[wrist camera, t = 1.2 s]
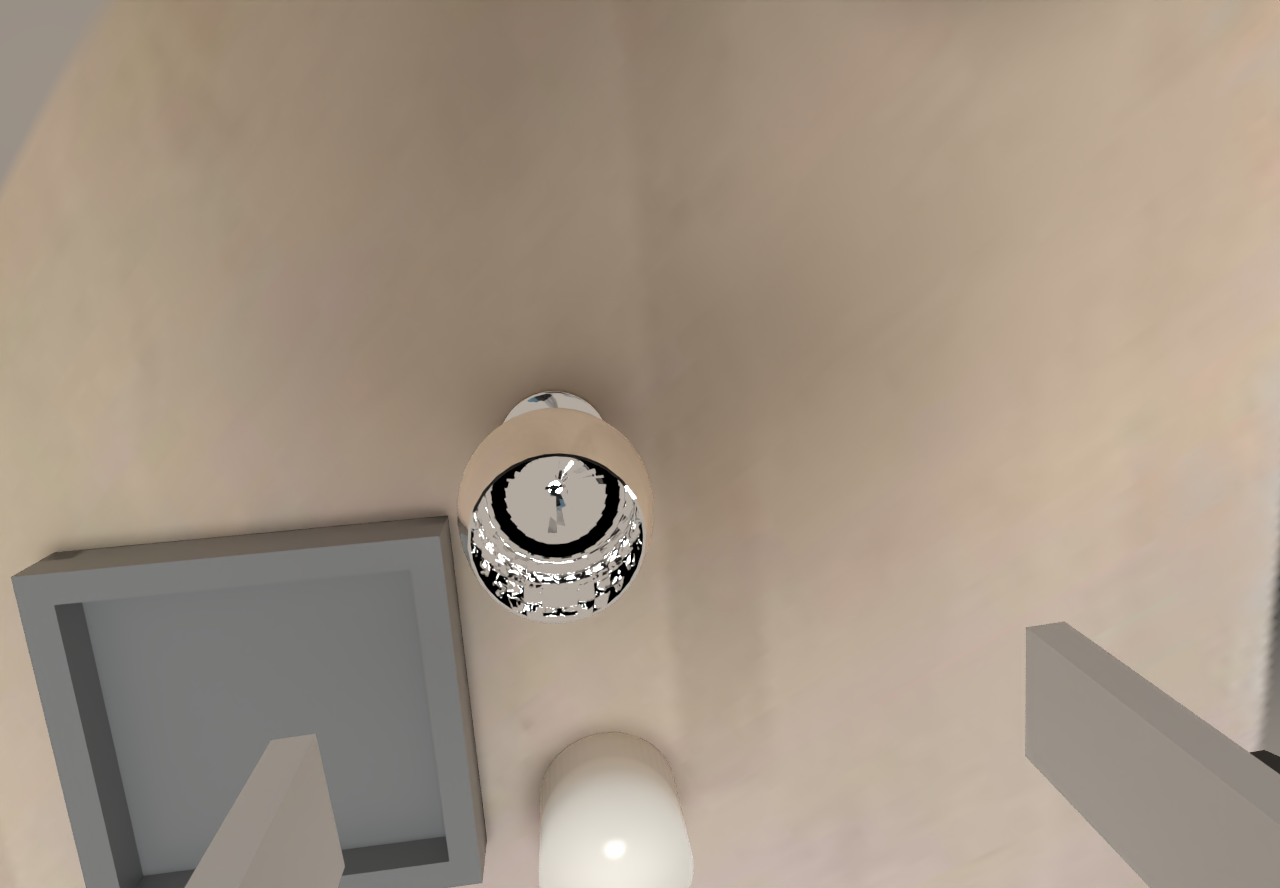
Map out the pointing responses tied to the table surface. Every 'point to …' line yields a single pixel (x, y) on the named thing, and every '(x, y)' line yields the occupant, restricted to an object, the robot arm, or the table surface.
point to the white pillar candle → (612, 818)
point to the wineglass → (555, 510)
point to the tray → (260, 695)
